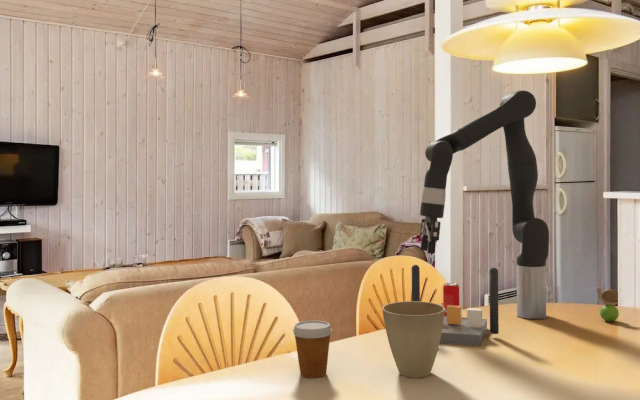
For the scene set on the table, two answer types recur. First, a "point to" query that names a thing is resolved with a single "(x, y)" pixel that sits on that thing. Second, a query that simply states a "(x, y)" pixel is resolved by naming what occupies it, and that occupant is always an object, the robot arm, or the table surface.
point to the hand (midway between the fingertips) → (427, 251)
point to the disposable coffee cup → (312, 347)
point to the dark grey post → (494, 301)
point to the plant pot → (414, 335)
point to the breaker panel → (465, 329)
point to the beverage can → (450, 295)
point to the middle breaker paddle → (454, 314)
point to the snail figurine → (608, 304)
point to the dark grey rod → (415, 283)
